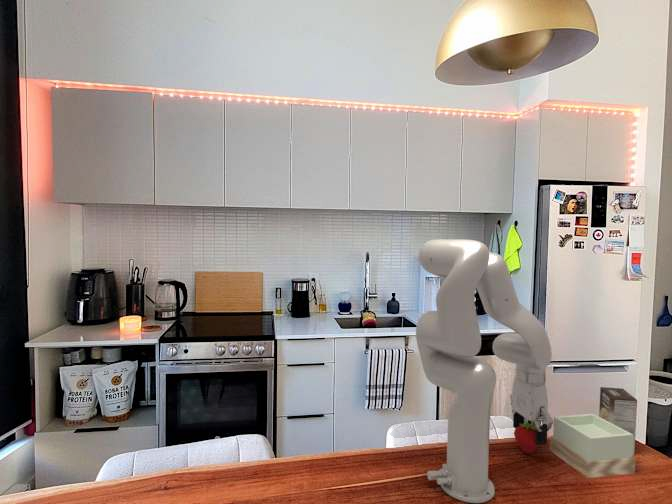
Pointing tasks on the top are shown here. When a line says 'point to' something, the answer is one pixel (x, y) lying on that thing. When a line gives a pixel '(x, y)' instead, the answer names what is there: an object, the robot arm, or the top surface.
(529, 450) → the strawberry
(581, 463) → the maple base block
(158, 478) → the top surface
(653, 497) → the top surface
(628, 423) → the coffee box
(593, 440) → the sage top block
